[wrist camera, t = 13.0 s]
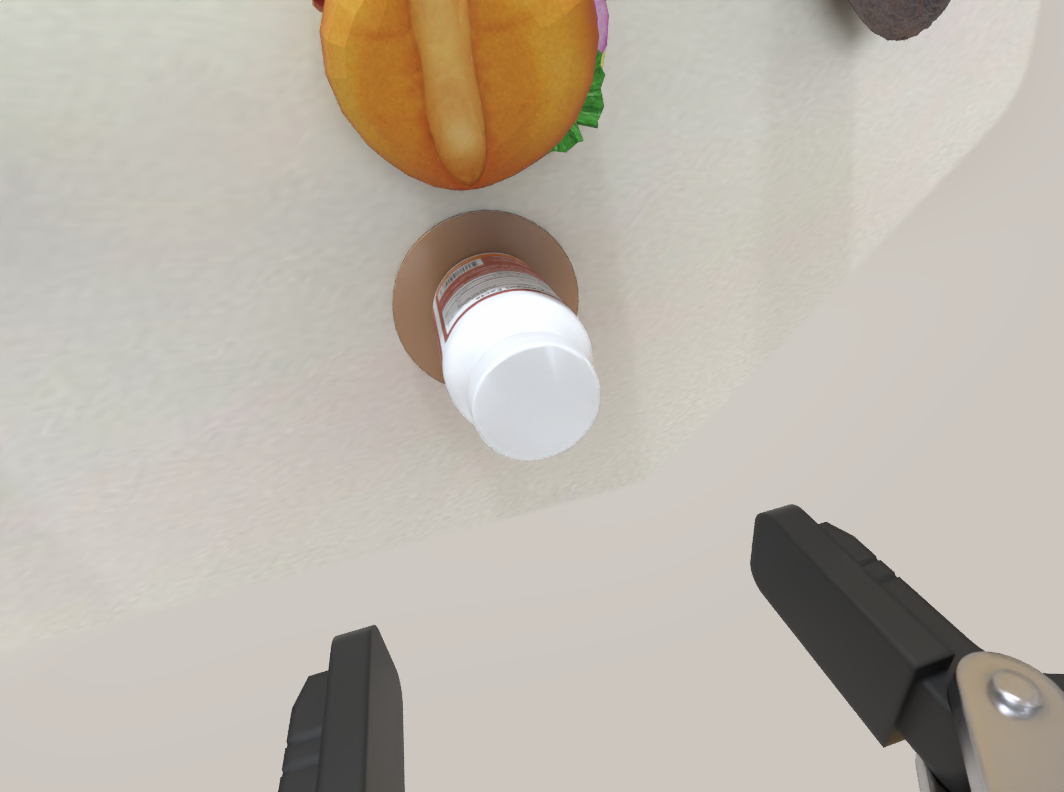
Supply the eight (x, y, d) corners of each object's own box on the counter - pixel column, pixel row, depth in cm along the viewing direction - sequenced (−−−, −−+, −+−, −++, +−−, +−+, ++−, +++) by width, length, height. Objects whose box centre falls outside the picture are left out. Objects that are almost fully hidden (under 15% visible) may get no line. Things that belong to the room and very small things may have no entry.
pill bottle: (530, 367, 30) (593, 485, 20) (422, 352, 28) (435, 474, 18) (559, 262, 27) (645, 339, 18) (442, 237, 25) (470, 308, 16)
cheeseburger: (644, 52, 24) (714, 79, 16) (470, 199, 27) (456, 281, 19) (503, -215, 18) (503, -371, 11) (313, 11, 22) (209, 19, 14)
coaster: (419, 406, 30) (419, 409, 29) (368, 230, 25) (367, 232, 24) (584, 367, 31) (586, 370, 31) (566, 193, 26) (569, 194, 26)
